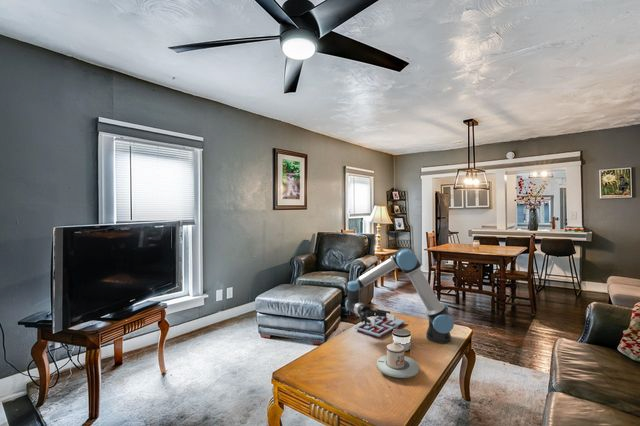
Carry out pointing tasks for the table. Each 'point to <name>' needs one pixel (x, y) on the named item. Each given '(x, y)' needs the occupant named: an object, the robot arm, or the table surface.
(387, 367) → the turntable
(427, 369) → the table surface
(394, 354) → the teacup with lid
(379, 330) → the maze game
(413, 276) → the robot arm
